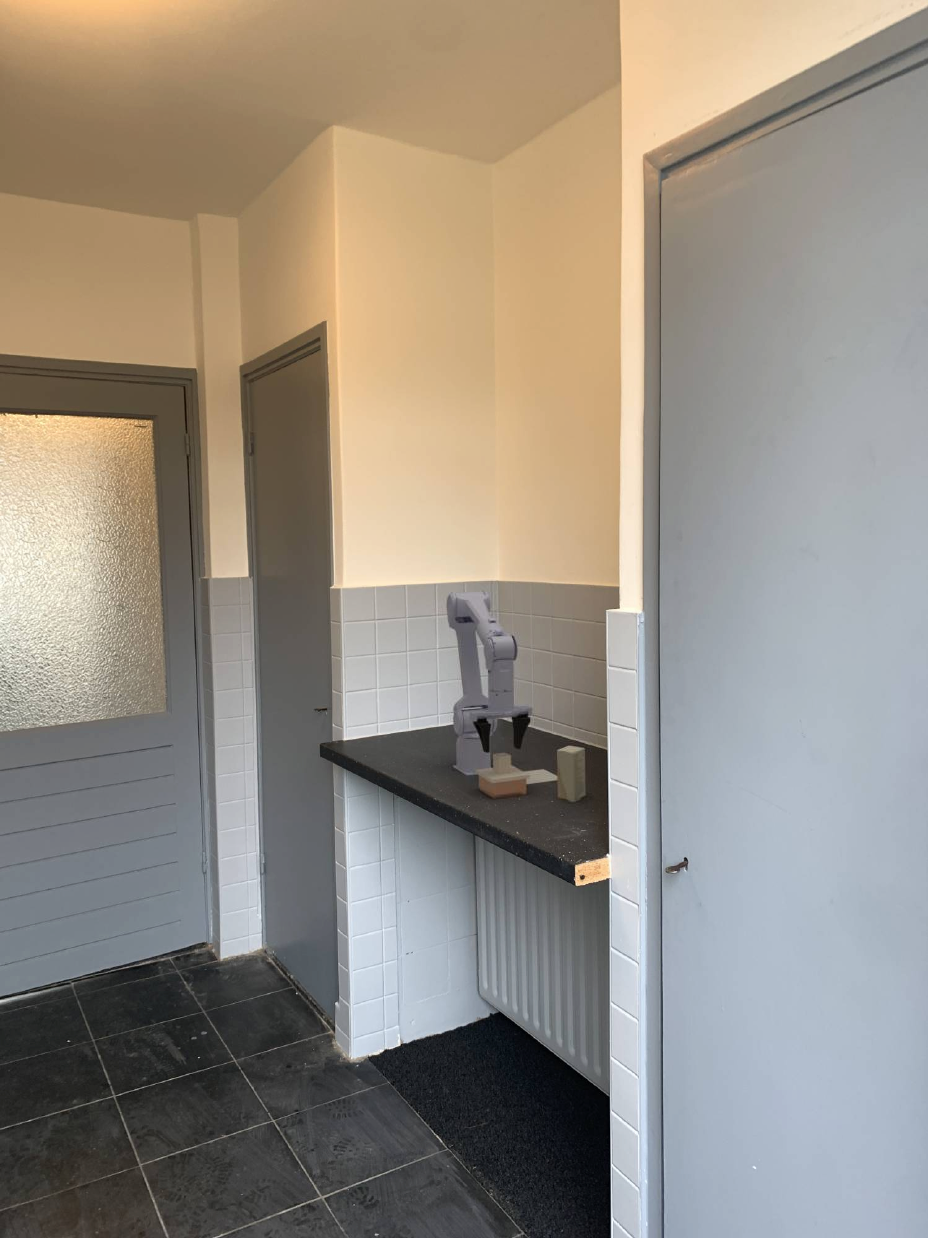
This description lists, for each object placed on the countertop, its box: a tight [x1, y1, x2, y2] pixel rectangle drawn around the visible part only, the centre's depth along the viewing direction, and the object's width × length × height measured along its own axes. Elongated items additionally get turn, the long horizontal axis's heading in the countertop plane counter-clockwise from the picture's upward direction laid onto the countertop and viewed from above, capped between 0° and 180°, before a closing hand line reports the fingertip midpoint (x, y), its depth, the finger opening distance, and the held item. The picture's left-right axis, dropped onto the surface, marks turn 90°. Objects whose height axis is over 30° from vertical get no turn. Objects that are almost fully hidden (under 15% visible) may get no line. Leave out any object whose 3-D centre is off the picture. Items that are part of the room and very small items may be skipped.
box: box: [556, 745, 586, 803], centre depth 196 cm, size 5×4×11 cm
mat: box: [524, 768, 557, 785], centre depth 214 cm, size 10×10×1 cm
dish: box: [478, 775, 527, 800], centre depth 201 cm, size 8×8×4 cm
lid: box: [476, 752, 529, 783], centre depth 201 cm, size 9×9×5 cm
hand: (501, 750), depth 201 cm, fingers open, 7 cm apart
